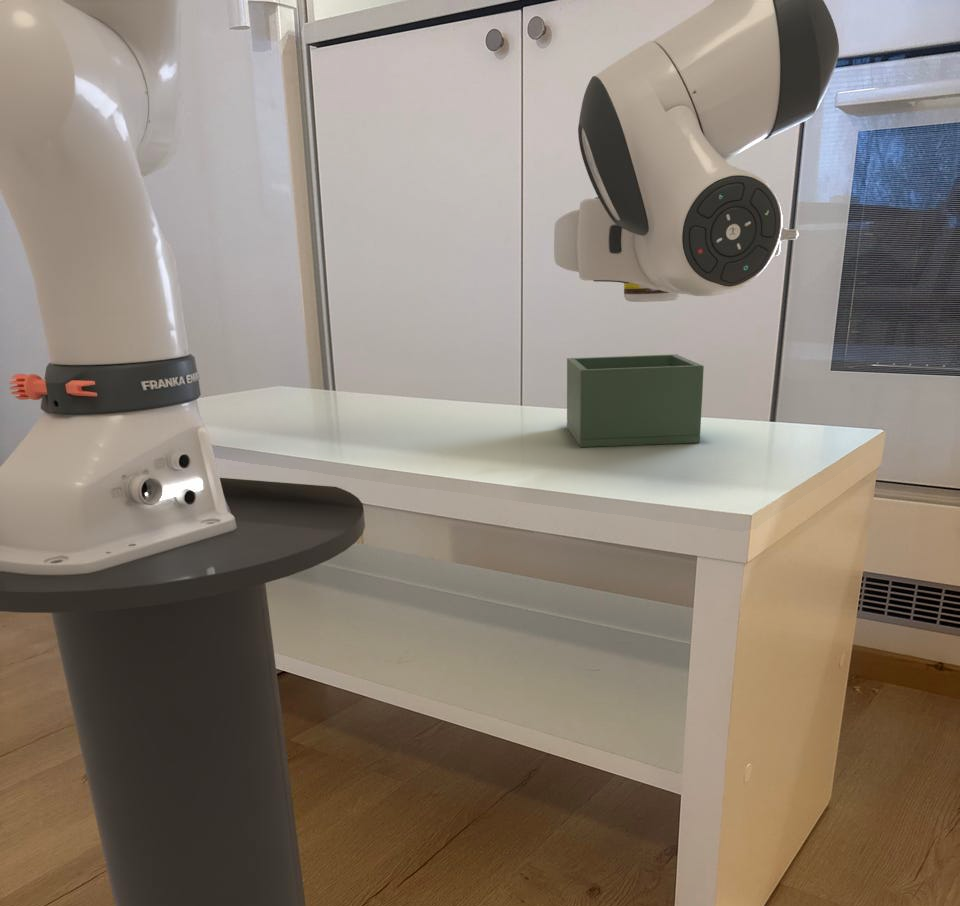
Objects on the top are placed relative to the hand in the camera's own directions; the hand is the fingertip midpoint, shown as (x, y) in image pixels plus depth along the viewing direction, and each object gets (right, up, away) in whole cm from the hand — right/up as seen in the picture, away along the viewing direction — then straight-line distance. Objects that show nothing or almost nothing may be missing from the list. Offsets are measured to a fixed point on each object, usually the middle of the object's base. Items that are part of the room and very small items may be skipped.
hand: (651, 240), depth 92 cm
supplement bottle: (0, -6, +1) cm, 6 cm away
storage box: (0, -16, +13) cm, 21 cm away
